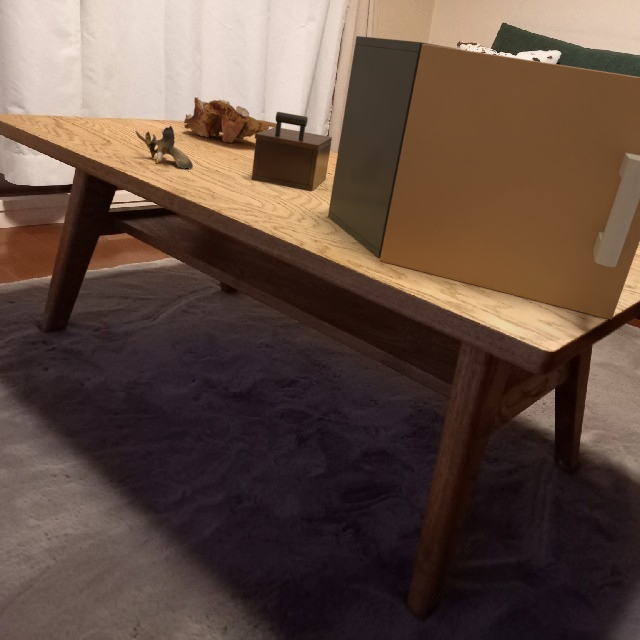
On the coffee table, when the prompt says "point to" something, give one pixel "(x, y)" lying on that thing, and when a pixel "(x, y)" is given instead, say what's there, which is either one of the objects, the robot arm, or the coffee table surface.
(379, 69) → the cupboard
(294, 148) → the walnut box
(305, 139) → the walnut lid
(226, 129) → the mineral formation
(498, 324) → the coffee table surface
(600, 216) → the cupboard door
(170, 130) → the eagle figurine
